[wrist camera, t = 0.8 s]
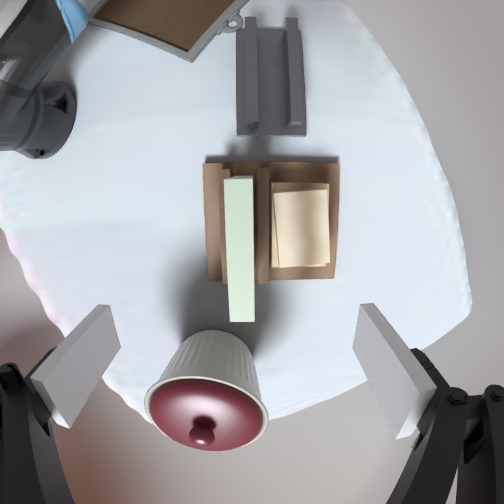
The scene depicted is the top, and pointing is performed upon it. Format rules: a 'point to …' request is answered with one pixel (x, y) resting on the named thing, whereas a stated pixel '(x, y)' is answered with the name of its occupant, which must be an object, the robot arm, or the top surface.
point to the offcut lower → (274, 188)
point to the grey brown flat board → (170, 22)
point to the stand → (270, 81)
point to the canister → (209, 394)
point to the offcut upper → (302, 227)
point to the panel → (240, 247)
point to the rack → (264, 215)
